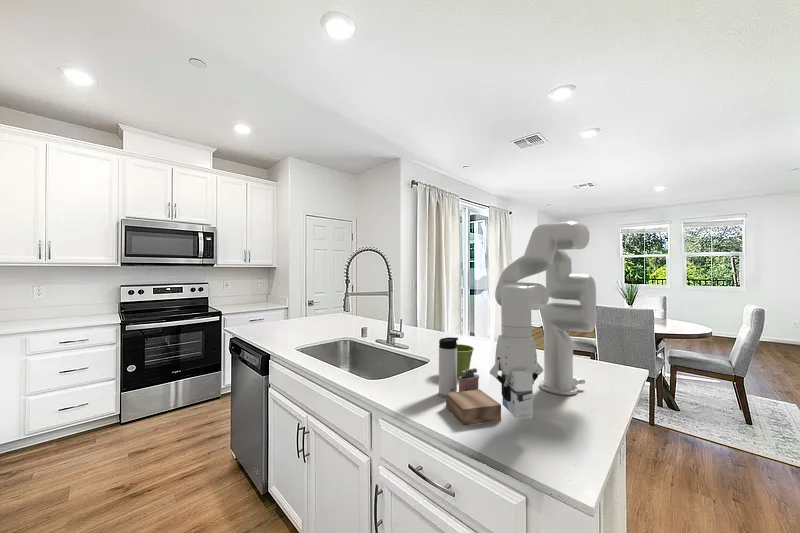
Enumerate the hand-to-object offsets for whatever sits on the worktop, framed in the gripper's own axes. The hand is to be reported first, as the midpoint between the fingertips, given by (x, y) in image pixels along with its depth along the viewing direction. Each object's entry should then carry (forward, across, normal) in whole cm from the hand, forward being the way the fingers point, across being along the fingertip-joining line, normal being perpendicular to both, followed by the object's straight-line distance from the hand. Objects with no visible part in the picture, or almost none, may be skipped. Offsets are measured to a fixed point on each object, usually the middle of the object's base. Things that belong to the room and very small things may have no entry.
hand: (516, 397), depth 85 cm
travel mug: (+10, +11, -27) cm, 31 cm away
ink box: (+4, 0, 0) cm, 4 cm away
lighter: (+10, +5, -23) cm, 26 cm away
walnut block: (+10, +8, -12) cm, 18 cm away
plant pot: (+11, 0, -47) cm, 48 cm away
